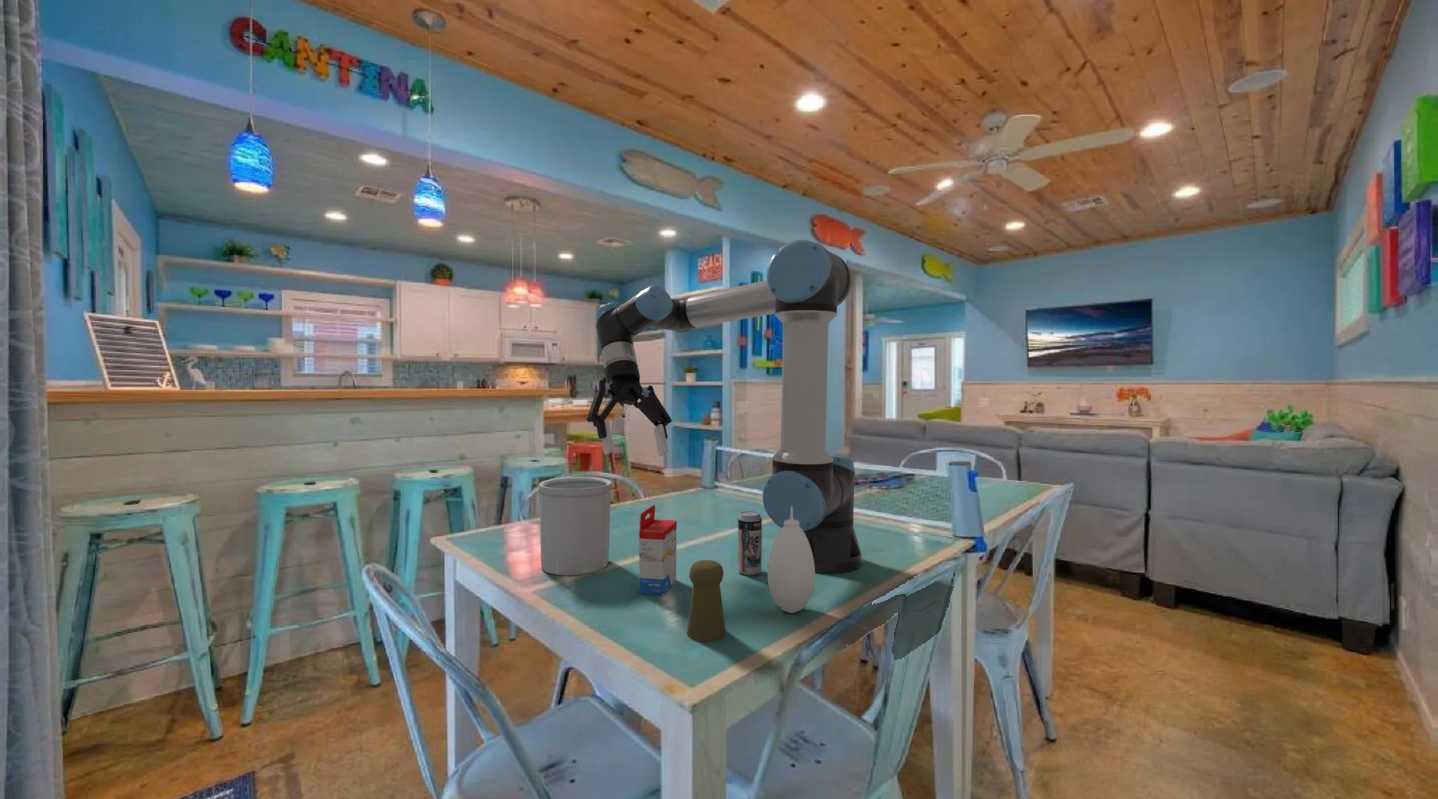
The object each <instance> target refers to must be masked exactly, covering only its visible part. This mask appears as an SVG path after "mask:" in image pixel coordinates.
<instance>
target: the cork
mask: <svg viewBox="0 0 1438 799" xmlns="http://www.w3.org/2000/svg"><path fill="white" fill-rule="evenodd" d="M723 577H724V568H723V566H722V565H721V564H720V563H719V562H717V560H710V559H702V560H697V561H695V562H694V563H693V564H692V565H691V567H690V569H689V578H690V581H691V584H692V590H691V596H690V597H691V599H690V604H689V605H690V607H689V613H688V620H687V621H688V622H687V628H686V635H687V638H689V639H690V640H693V641H695V642H699V643H700V642H701V643H710V642H717V641H720V640H721V639H723V638H725V637H726V633H727V632H726V624H725V616H724V607H723V600H722V593H721V591H722V590H721V585H720V584H721V583H722V582H723V580H724V579H723Z"/></svg>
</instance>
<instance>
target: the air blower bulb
mask: <svg viewBox="0 0 1438 799" xmlns="http://www.w3.org/2000/svg"><path fill="white" fill-rule="evenodd" d="M799 525H800V523H799V521H797V520H794V519H793V507H792V505H791V511H790V519H788V520H785V521H784V526H783V527H782V528H781V527H780V530H779V531H778V533H777V535H776V537H775V539H774V540H773V543H772V546H771V549H770V554H769V556H768V562H767V584H768V585H767V586H768V589H769V592H770V595H771V598H772V600H773V601H774V603H775V605H776V606H779V607H780V609H781V610H783V611H784V612H786V613H789V614H794V613H796V612H799V611H801V610H802V608H804V607H805V606H807V604H808V602H809V601H810V599H811V597H812V595H813V591H814V587H815V582H816V581H815V580H816V571H815V566H814V559H813V554H812V550H811V547H810V544H809V542H808V539H807V537H806V535H805V533H804V532H803V530H802V529H801V528H800V527H799Z"/></svg>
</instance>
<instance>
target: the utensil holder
mask: <svg viewBox="0 0 1438 799" xmlns="http://www.w3.org/2000/svg"><path fill="white" fill-rule="evenodd" d="M612 488H613V482H612V481H611V480H610V479H607V478H602V477H593V476H569V477H566V476H565V477H558V478H551V479H546V480H543V481H541V482H539V484H538V490H539V494H540V495H539V496H540V498H539V500H540V502H539V503H540V504H539V505H540V506H539V507H540V508H539V509H540V511H539V513H540V514H539V515H540V516H539V518H540V519H539V520H540V522H539V523H540V524H539V525H540V565H541V566H540V567H541V569H542V570H543V571H544V572H546V573H548V574H550V575H557V576H580V575H587V574H592V573H595V572H598V571H600V570H602V569H604V568H605V567H607V566H608V564H609V554H610V552H609V551H610V550H609V549H610V536H611V535H610V527H611V525H610V524H611V498H612V497H611V494H612V493H611V491H612Z"/></svg>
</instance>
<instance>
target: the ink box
mask: <svg viewBox="0 0 1438 799" xmlns="http://www.w3.org/2000/svg"><path fill="white" fill-rule="evenodd" d="M655 513H656V505H655V504H652V505H651V506H650V507H647V509H645V510H644V511H643V512H641V513H640V515H639V531H638V538H639V539H638V543H639V544H638V545H639V546H638V548H639V550H638V552H639V553H638V554H639V555H638V557H639V560H638V561H639V572H638V573H639V576H638V577H639V580H638V581H639V594H645V595H646V594H648V595H657V596H658V595H659V596H664V595H665V594H666V593H667V592H668V591H669V589H670V588H671V587H672V586H673V585H674V583H675V582H676V581H677V528H678V527H677V525H678V524H677V523H678V521H677V520H673V519H658V518H657V519H656V518H655V515H656V514H655ZM648 515H649V516H648ZM647 516H648V517H647Z"/></svg>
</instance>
